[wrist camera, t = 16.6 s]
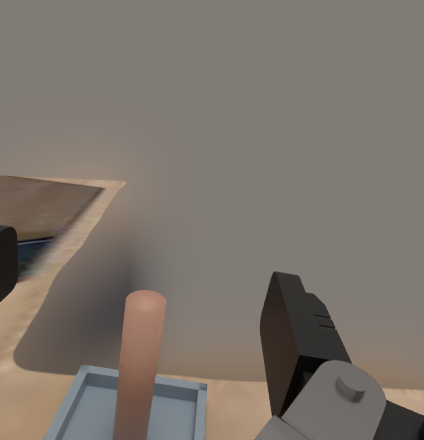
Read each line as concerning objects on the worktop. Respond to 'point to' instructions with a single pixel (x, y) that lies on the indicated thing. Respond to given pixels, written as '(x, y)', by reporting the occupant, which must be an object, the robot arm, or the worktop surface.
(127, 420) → the dowel
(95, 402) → the tray
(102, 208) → the worktop surface
